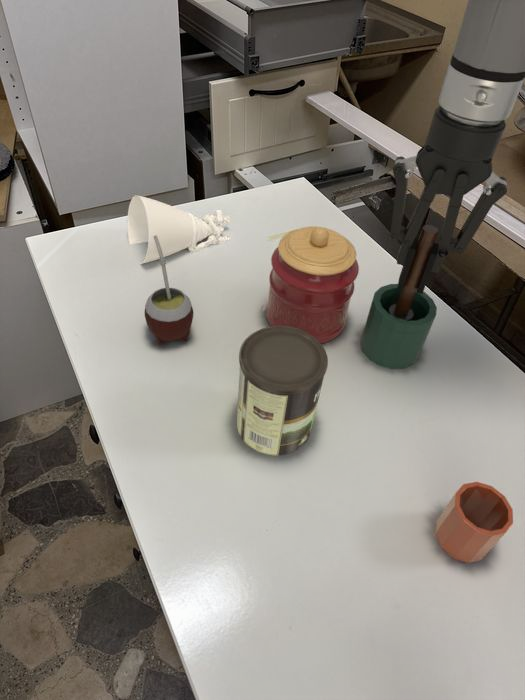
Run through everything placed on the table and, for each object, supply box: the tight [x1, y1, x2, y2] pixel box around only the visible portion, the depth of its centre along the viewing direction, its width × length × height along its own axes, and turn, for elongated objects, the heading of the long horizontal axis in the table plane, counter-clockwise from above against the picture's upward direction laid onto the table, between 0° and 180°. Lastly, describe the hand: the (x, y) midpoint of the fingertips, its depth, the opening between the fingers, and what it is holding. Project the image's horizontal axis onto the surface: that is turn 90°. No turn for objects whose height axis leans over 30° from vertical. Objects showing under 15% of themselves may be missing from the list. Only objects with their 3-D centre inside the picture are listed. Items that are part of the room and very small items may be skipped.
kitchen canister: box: [265, 225, 360, 344], centre depth 79 cm, size 13×13×18 cm
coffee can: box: [236, 326, 329, 456], centre depth 66 cm, size 10×10×14 cm
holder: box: [434, 481, 514, 564], centre depth 58 cm, size 6×6×8 cm
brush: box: [388, 224, 439, 321], centre depth 73 cm, size 4×4×20 cm
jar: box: [359, 283, 438, 370], centre depth 79 cm, size 9×9×10 cm
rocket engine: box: [126, 195, 232, 265], centre depth 95 cm, size 12×12×18 cm
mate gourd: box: [144, 236, 194, 346], centre depth 76 cm, size 8×8×15 cm
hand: (410, 285), depth 73 cm, fingers closed on brush, 2 cm apart
